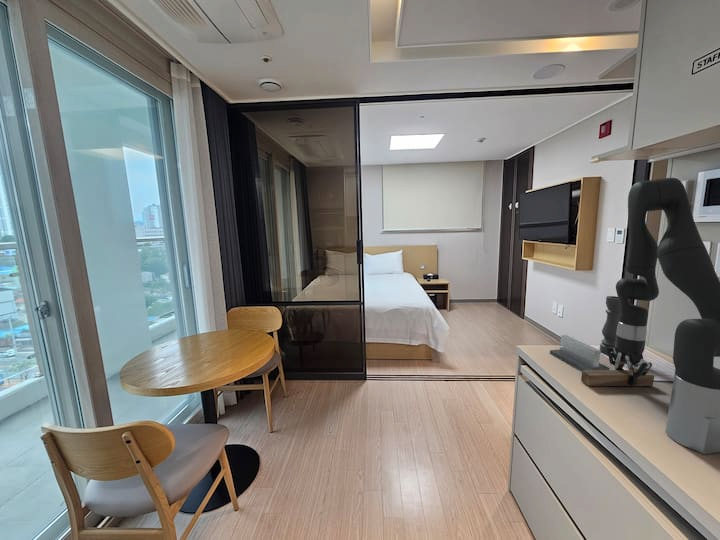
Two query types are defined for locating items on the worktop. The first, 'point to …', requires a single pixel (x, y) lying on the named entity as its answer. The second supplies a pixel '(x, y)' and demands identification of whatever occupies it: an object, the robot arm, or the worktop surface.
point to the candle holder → (610, 324)
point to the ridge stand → (578, 354)
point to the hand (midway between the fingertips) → (625, 381)
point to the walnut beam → (613, 378)
